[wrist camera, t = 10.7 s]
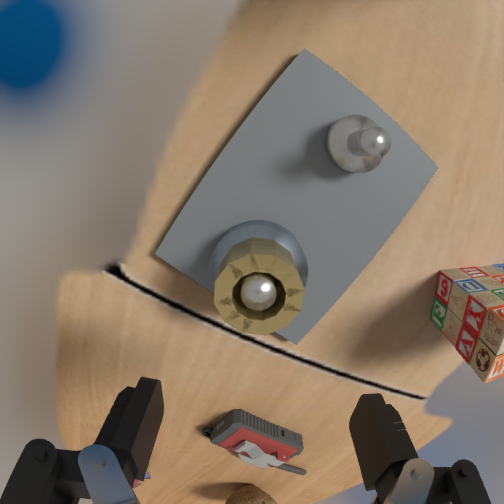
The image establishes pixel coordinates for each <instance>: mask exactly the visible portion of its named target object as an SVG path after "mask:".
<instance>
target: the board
mask: <svg viewBox="0 0 504 504" xmlns="http://www.w3.org/2000/svg"><path fill="white" fill-rule="evenodd" d="M349 115H363V116H366V117H368V118H370V119H371V120H373V121H374V122H375V123H376V124H377V125H378V126H379V127H381V128H383V129H385V130H386V131H387V132H388V134H389V136H390V138H391V148H390V150H389V152H388V153H387V154H386V155H384V157H383V160H382V161H381V163H380V164H379V165H378V166H377V167H376V168H375V169H373V170H371V171H369V172H366V173H355V172H349V171H344V170H342V169H340V168H338V167H337V166H335V165H334V164H333V163H332V162H331V160H330V159H329V157H328V156H327V153H326V150H325V144H324V141H325V135H326V132H327V130H328V128H329V127H330V126H331V125H332V124H333V123H334V122H335V121H337V120H339V119H341V118H344V117H346V116H349ZM437 169H438V167H437V165H436V164H435V163H434V162H433V161H432V160H431V159H430V157H429V156H428V155H427V154H426V153H425V152H424V151H423V150H422V149H421V148H420V146H419V145H418V144H417V143H416V142H415V141H414V140H413V139H412V138H411V137H410V136H409V135H408V134H407V133H406V132H405V131H404V130H403V129H402V128H401V127H400V126H399V125H398V124H397V123H396V122H395V121H394V120H393V119H392V118H391V117H390V116H389V115H388V114H387V113H385V112H384V111H383V110H382V109H381V108H380V107H379V106H378V105H377V104H376V103H374V102H373V101H372V100H371V99H370V98H369V97H368V96H366V95H365V94H364V93H363V92H362V91H360V90H359V89H358V88H357V87H356V86H354V85H353V84H352V83H351V82H349V81H348V80H347V79H346V78H344V77H343V76H342V75H341V74H339V73H338V72H337V71H335V70H334V69H333V68H331V67H330V66H329V65H327V64H326V63H324V62H323V61H322V60H320V59H319V58H317V57H316V56H315V55H313V54H312V53H310V52H309V51H307V50H306V49H303V50H302V51H301V52H300V53H299V55H298V56H297V57H296V58H295V59H294V60H293V62H292V63H291V64H290V65H289V66H288V67H287V69H286V70H285V71H284V72H283V73H282V74H281V76H280V77H279V78H278V79H277V80H276V82H275V83H274V84H273V85H272V87H271V88H270V89H269V90H268V92H267V93H266V94H265V95H264V96H263V98H262V99H261V100H260V102H259V103H258V104H257V105H256V107H255V108H254V109H253V110H252V112H251V113H250V114H249V116H248V117H247V118H246V120H245V121H244V122H243V124H242V125H241V126H240V127H239V129H238V130H237V131H236V133H235V134H234V136H233V137H232V138H231V140H230V141H229V142H228V144H227V145H226V146H225V148H224V149H223V151H222V152H221V153H220V155H219V156H218V158H217V159H216V160H215V162H214V163H213V165H212V166H211V168H210V169H209V170H208V172H207V173H206V175H205V176H204V178H203V179H202V181H201V182H200V184H199V185H198V187H197V188H196V189H195V191H194V192H193V194H192V195H191V197H190V199H189V200H188V202H187V203H186V205H185V206H184V208H183V209H182V211H181V212H180V214H179V215H178V217H177V219H176V220H175V222H174V223H173V225H172V226H171V228H170V230H169V231H168V233H167V235H166V236H165V238H164V239H163V241H162V243H161V244H160V246H159V248H158V249H157V251H156V253H155V254H156V255H157V256H159V257H160V258H161V259H163V260H164V261H166V262H167V263H169V264H170V265H172V266H173V267H174V268H176V269H177V270H179V271H180V272H182V273H183V274H185V275H186V276H188V277H189V278H191V279H192V280H194V281H195V282H197V283H198V284H200V285H201V286H203V287H204V288H206V289H207V290H209V291H210V292H212V293H213V290H212V288H211V285H210V282H209V277H208V268H209V262H210V258H211V255H212V253H213V251H214V249H215V246H216V244H217V243H218V241H219V239H220V238H221V237H222V236H223V235H224V234H225V233H226V232H227V231H228V230H229V229H231V228H232V227H234V226H236V225H238V224H240V223H243V222H246V221H251V220H265V221H270V222H274V223H276V224H279V225H281V226H282V227H284V228H286V229H287V230H288V231H289V232H291V233H292V234H293V236H294V237H295V238H296V239H297V241H298V242H299V244H300V246H301V248H302V250H303V252H304V254H305V257H306V260H307V265H308V279H307V283H306V286H305V292H304V297H303V302H302V307H301V312H299V314H298V315H297V316H296V317H295V318H294V319H293V320H292V321H291V322H290V324H289V325H288V326H287V327H285V328H283V329H280V330H277V331H275V332H276V333H278V334H279V335H281V336H283V337H284V338H286V339H288V340H289V341H291V342H293V343H294V344H297V343H298V342H299V341H300V340H301V339H302V338H303V337H304V336H305V335H306V334H307V333H308V332H309V331H310V330H311V329H312V328H313V327H314V326H315V324H316V323H317V322H318V321H319V320H320V319H321V318H322V317H323V316H324V315H325V314H326V312H327V311H328V310H329V309H330V308H331V307H332V306H333V305H334V304H335V302H336V301H337V300H338V299H339V298H340V297H341V296H342V294H343V293H344V292H345V291H346V290H347V289H348V287H349V286H350V285H351V284H352V283H353V282H354V280H355V279H356V278H357V277H358V276H359V274H360V273H361V272H362V271H363V270H364V268H365V267H366V266H367V265H368V263H369V262H370V261H371V260H372V259H373V257H374V256H375V255H376V254H377V252H378V251H379V250H380V248H381V247H382V246H383V245H384V243H385V242H386V241H387V239H388V238H389V237H390V236H391V234H392V233H393V232H394V230H395V229H396V228H397V226H398V225H399V224H400V222H401V221H402V220H403V218H404V217H405V215H406V214H407V213H408V211H409V210H410V209H411V207H412V206H413V204H414V203H415V202H416V200H417V199H418V197H419V196H420V194H421V193H422V191H423V190H424V189H425V187H426V186H427V184H428V183H429V181H430V180H431V178H432V177H433V175H434V174H435V172H436V171H437ZM213 294H214V293H213Z"/></svg>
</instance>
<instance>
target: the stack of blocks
mask: <svg viewBox="0 0 504 504" xmlns="http://www.w3.org/2000/svg"><path fill="white" fill-rule="evenodd" d="M430 320H431V321H432V322H433V323H434V324H435V326H436V327H437V328H438V329H439V330H440V331H441V332H443V334H444V335H445V336H446V337H447V339H448V340H449V341H450V342H451V343H452V344H453V346H455V348H456V350H457V351H458V352H459V354H460V355H461V356H462V357H463V359H465V361H466V362H467V363H468V364H469V365H470V366H471V367H472V369H473V370H474V371H475V373H476V374H477V375H478V377H479V378H480V379H481V380H482V382H483V383H487V382H489V381H491V380H494V379H496V378H498V377H500V376H503V375H504V264H497V265H492V266H482V267H468V268H459V269H458V268H457V269H446V270H440V271H439V276H438V281H437V287H436V292H435V299H434V304H433V308H432V313H431V317H430Z"/></svg>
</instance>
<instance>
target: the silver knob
mask: <svg viewBox="0 0 504 504" xmlns="http://www.w3.org/2000/svg"><path fill="white" fill-rule="evenodd" d="M324 144H325V150H326V153H327V156H328V157H329V159H330V160H331V162H332V163H333V164H334V165H335V166H337V167H338V168H340V169H342V170H344V171H349V172H355V173H366V172H369V171H371V170H373V169H375V168H376V167H377V166H378V165H379V164H380V163H381V161H382V160H383V157H384V155H386V154H387V153H388V152H389V150H390V148H391V138H390V136H389V134H388V132H387V131H386V130H385V129H383V128H381V127H379V126H378V125H377V124H376V123H375V122H374V121H373V120H371V119H370V118H368V117H366V116H363V115H349V116H346V117H344V118H341V119H339V120H337V121H335V122H334V123H333V124H332V125H331V126H330V127H329V128H328V130H327V132H326V135H325V141H324Z"/></svg>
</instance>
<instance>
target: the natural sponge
mask: <svg viewBox="0 0 504 504" xmlns="http://www.w3.org/2000/svg"><path fill="white" fill-rule="evenodd" d="M225 504H277V503H276V502H275V500H274V499H273V498H272V497H271V496H270V495H269V494H267V493H266V492H264V491H262V490H261V489H260V488H258V487H256V486H253V485H245V486H243V487H241V488H240V489H239V490H237V491H236V492H235V493H234V494H233V495H231V496H230V497H229V498H228V499H227V500H226V503H225Z"/></svg>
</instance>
